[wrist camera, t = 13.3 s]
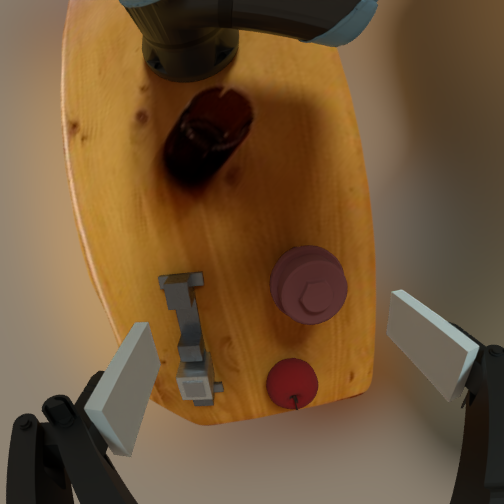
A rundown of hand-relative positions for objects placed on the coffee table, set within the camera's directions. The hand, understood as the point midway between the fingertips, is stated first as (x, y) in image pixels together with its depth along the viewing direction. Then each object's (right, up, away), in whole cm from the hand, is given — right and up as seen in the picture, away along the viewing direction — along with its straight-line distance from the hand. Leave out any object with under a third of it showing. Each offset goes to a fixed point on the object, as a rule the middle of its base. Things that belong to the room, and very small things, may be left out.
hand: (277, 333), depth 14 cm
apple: (+5, -18, +35) cm, 39 cm away
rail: (-11, -11, +32) cm, 35 cm away
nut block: (-11, -16, +32) cm, 37 cm away
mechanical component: (+6, +2, +30) cm, 30 cm away
